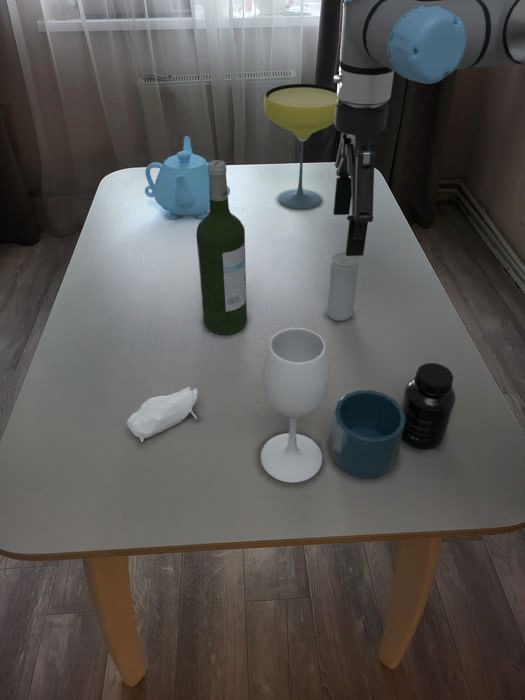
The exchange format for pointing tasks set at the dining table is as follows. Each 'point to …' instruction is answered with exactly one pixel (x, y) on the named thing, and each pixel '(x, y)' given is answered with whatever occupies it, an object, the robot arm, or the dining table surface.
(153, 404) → the white oblong lump
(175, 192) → the teapot
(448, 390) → the supplement bottle
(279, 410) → the wineglass
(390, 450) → the cup
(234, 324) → the wine bottle
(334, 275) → the beverage can
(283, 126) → the cocktail glass
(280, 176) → the dining table surface
